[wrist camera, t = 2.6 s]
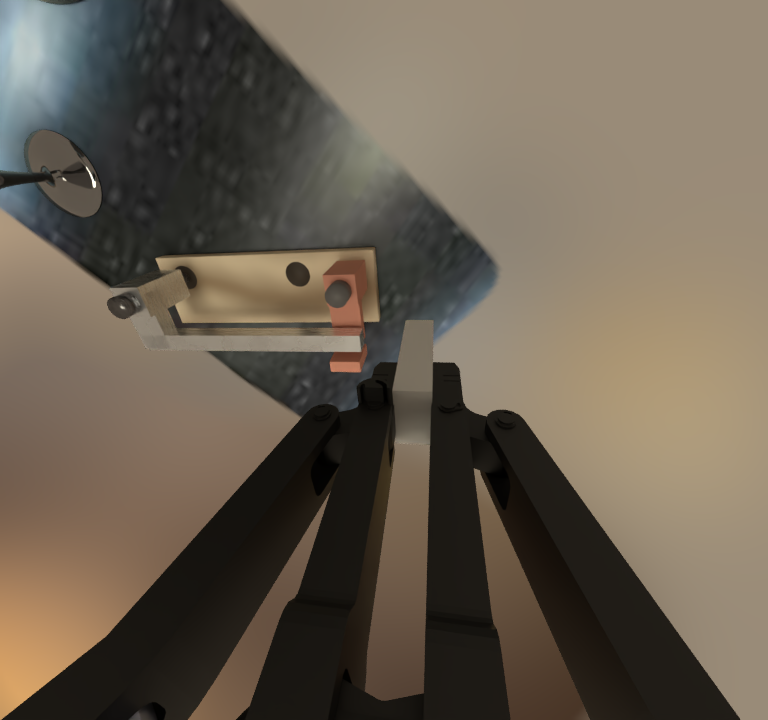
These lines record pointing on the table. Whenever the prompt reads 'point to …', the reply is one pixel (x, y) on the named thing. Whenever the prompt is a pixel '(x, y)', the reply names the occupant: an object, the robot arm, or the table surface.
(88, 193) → the wine glass
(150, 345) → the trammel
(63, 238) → the table surface
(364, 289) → the slide leg
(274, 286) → the bolt plate
